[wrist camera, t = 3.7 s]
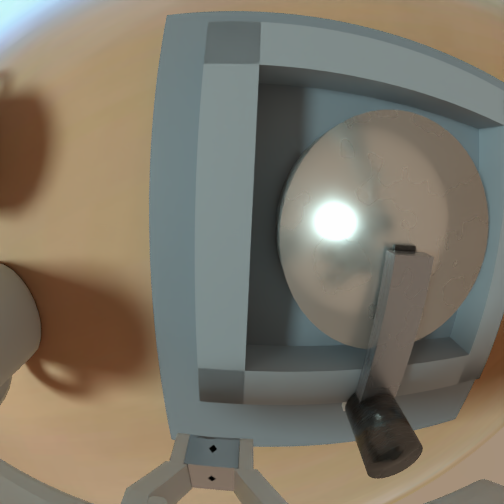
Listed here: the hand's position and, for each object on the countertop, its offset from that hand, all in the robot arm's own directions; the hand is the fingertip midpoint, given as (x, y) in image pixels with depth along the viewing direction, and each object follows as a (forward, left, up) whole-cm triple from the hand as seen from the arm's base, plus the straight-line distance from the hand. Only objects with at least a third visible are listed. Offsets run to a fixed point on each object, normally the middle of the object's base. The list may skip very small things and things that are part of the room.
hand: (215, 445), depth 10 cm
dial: (-6, +7, -5) cm, 10 cm away
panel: (-6, +7, -6) cm, 11 cm away
